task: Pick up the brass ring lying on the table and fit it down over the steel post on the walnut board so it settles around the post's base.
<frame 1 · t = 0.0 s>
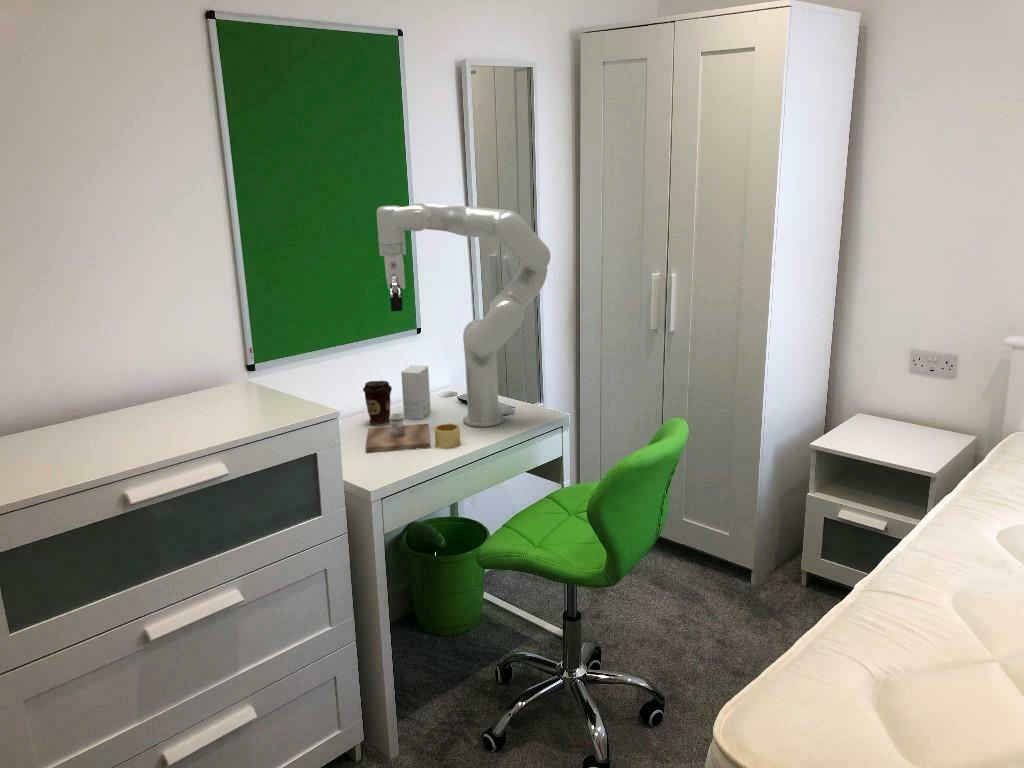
hand: (397, 308, 244), 37 cm above the table, tool pointing down, fingers open, 9 cm apart
coffee cup: (379, 423, 259), on the table
skincare box: (418, 416, 265), on the table
brass ring: (447, 444, 237), on the table
post board: (398, 440, 242), on the table
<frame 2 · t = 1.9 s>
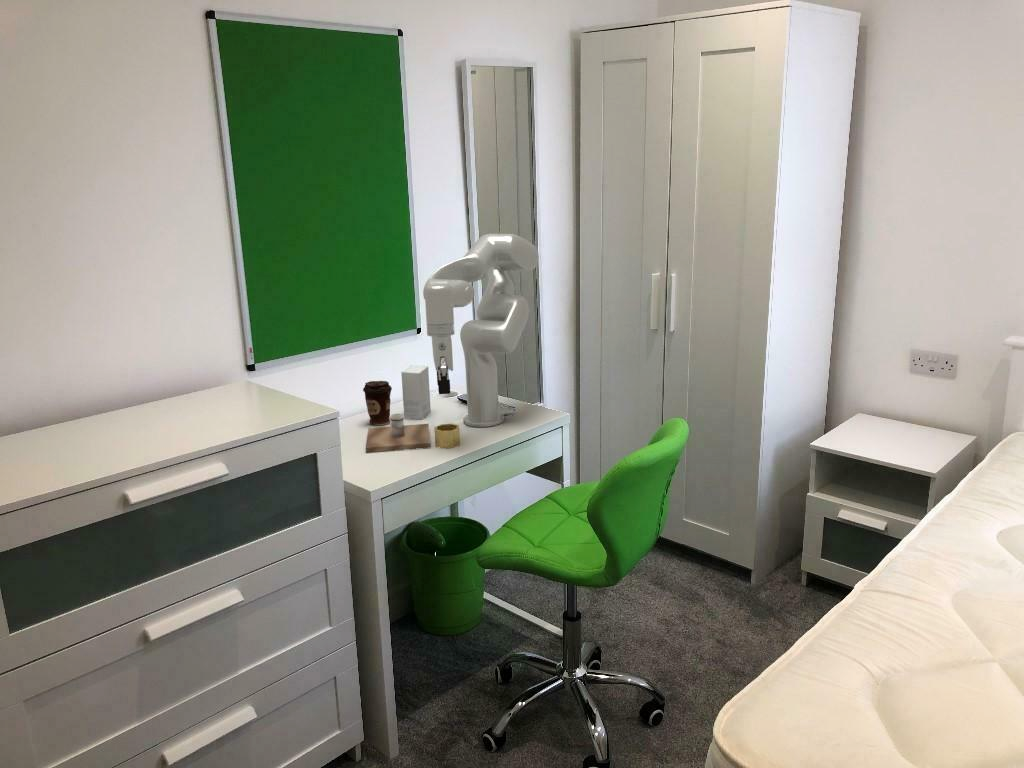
hand: (443, 389, 232), 16 cm above the table, tool pointing down, fingers open, 9 cm apart
nothing on the table moved.
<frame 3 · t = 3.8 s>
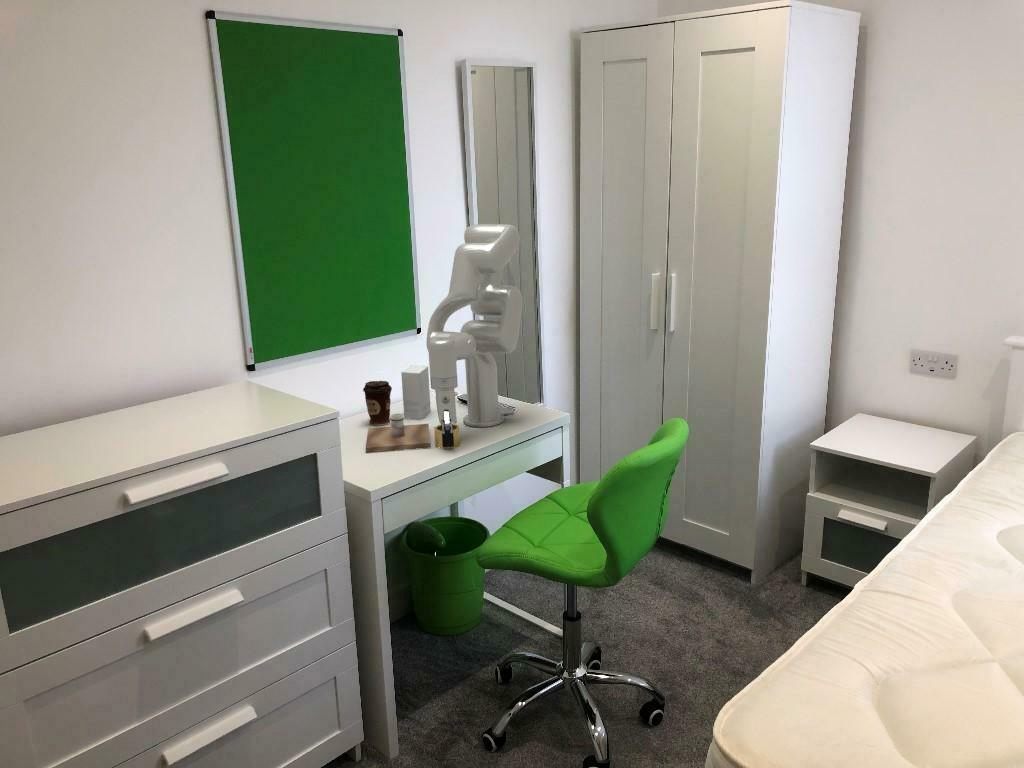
hand: (447, 441, 237), 1 cm above the table, tool pointing down, fingers closed on brass ring, 7 cm apart
brass ring: (447, 444, 237), on the table, touching gripper
everything else where it was.
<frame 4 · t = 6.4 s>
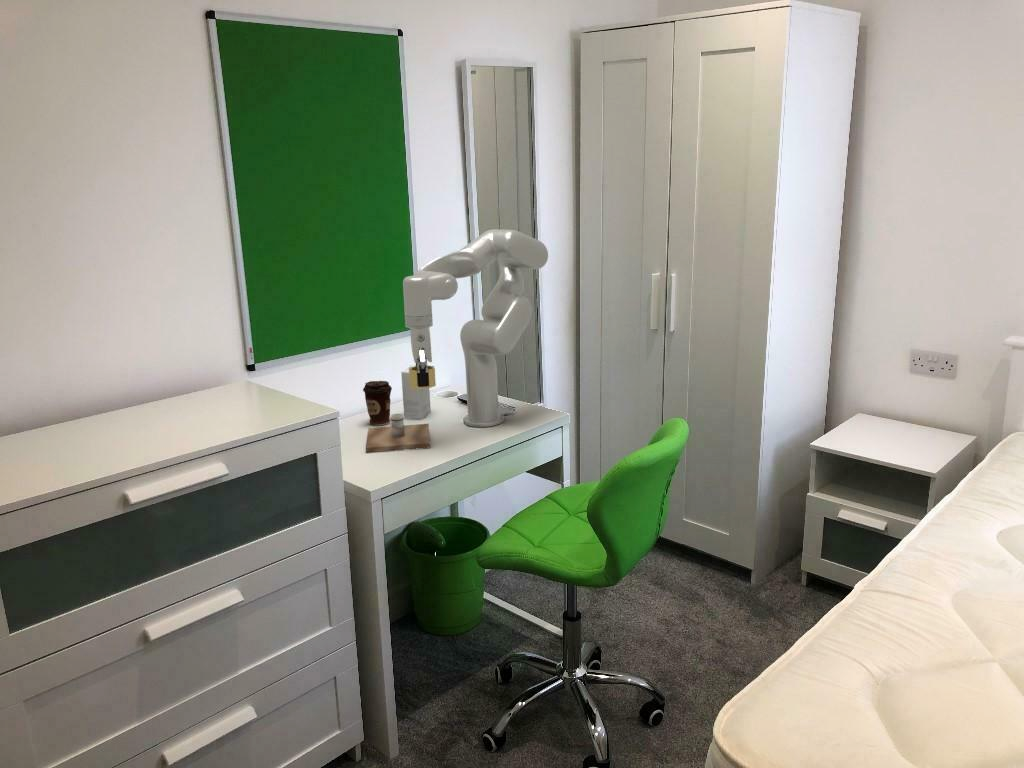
hand: (422, 382, 234), 18 cm above the table, tool pointing down, fingers closed on brass ring, 7 cm apart
brass ring: (422, 385, 234), point 17 cm above the table, touching gripper
everything else where it was.
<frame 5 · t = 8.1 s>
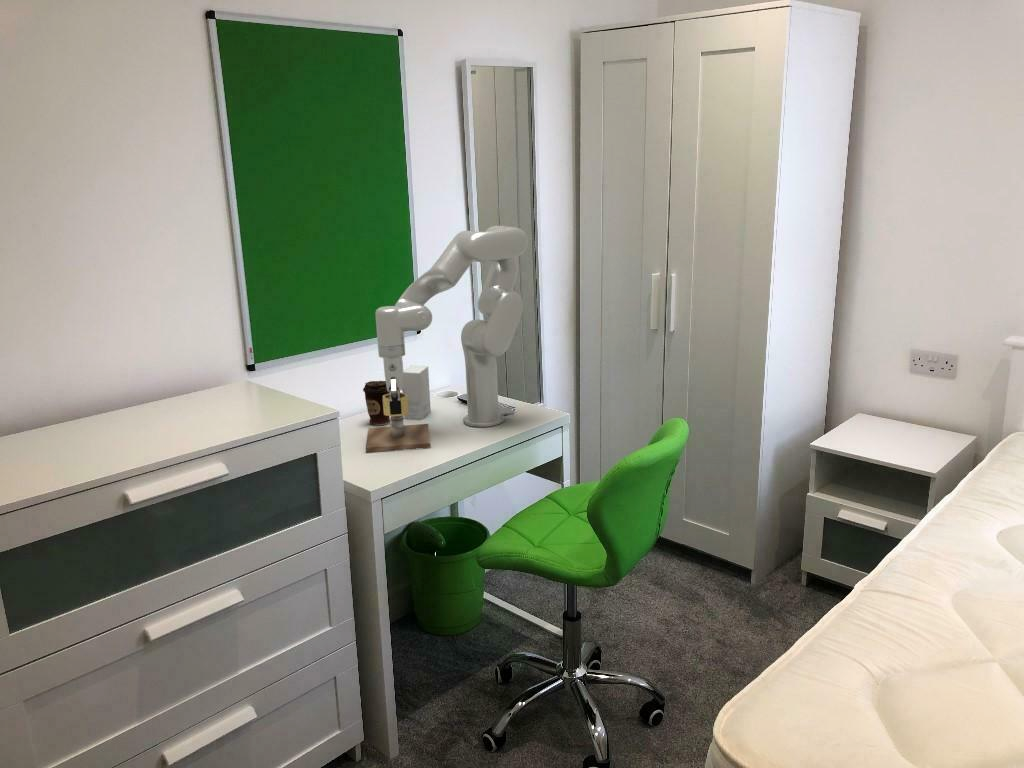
hand: (396, 409, 240), 9 cm above the table, tool pointing down, fingers closed on brass ring, 7 cm apart
brass ring: (396, 412, 240), point 8 cm above the table, touching gripper
everything else where it was.
when the fingers open (5 cm above the table, at t = 9.5 s): brass ring drops 3 cm, resting on post board.
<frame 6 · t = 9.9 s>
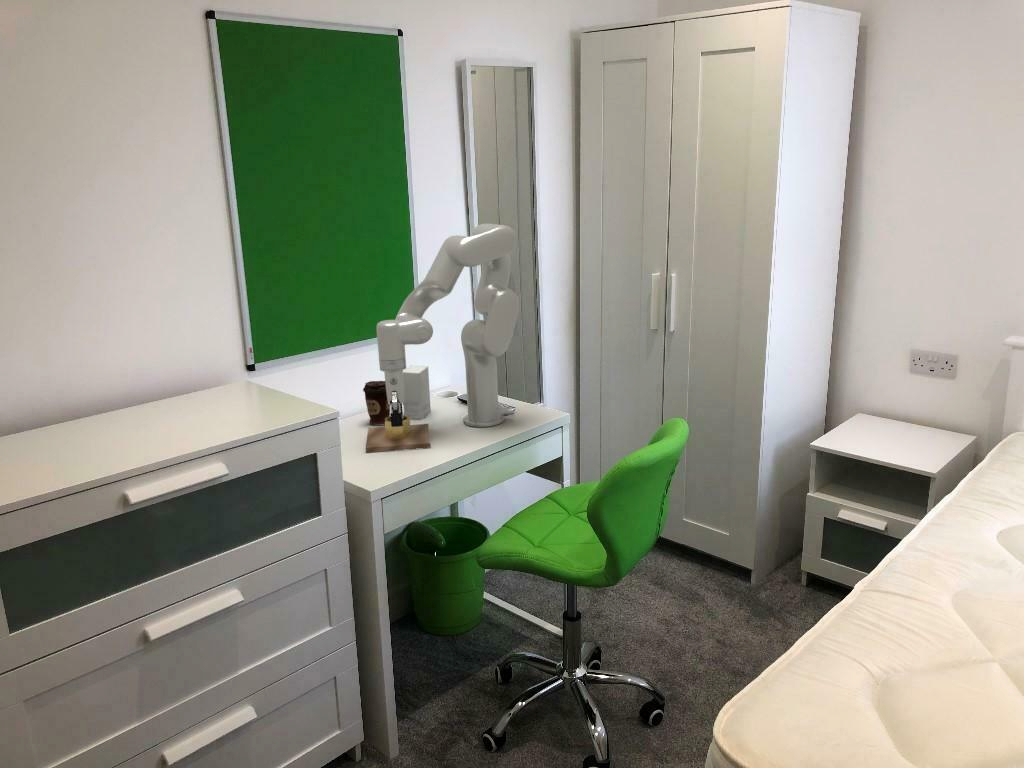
hand: (397, 421, 241), 6 cm above the table, tool pointing down, fingers open, 9 cm apart
brass ring: (398, 435, 242), point 1 cm above the table, touching post board
everything else where it was.
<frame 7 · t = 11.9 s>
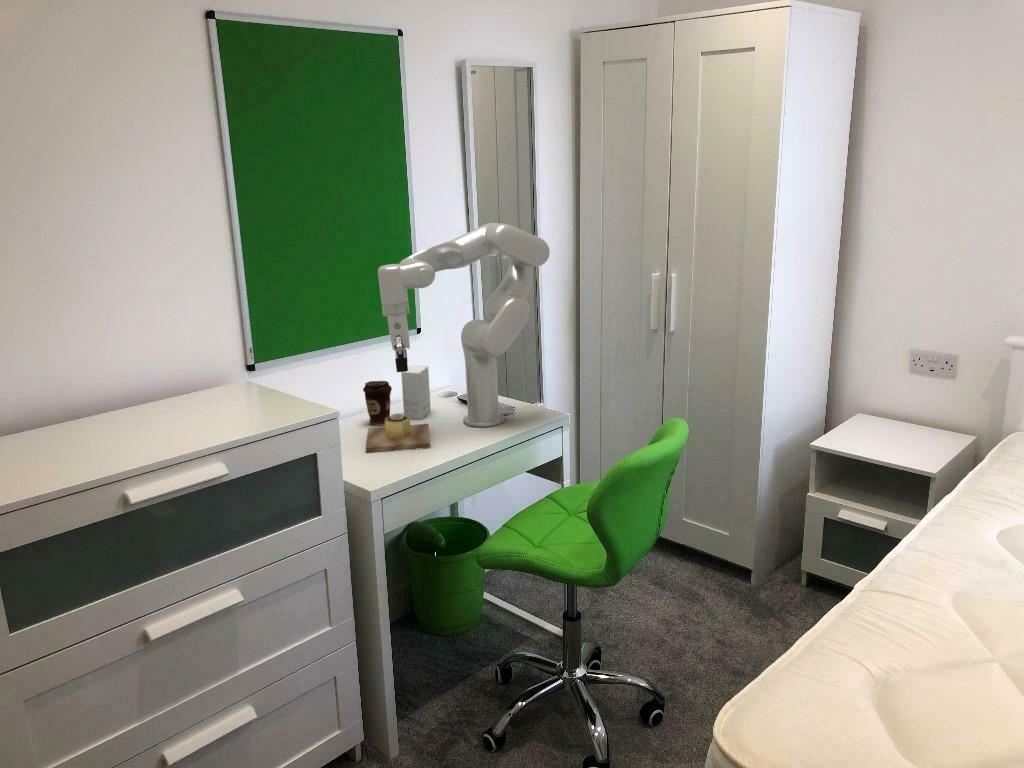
hand: (402, 367, 239), 21 cm above the table, tool pointing down, fingers open, 9 cm apart
nothing on the table moved.
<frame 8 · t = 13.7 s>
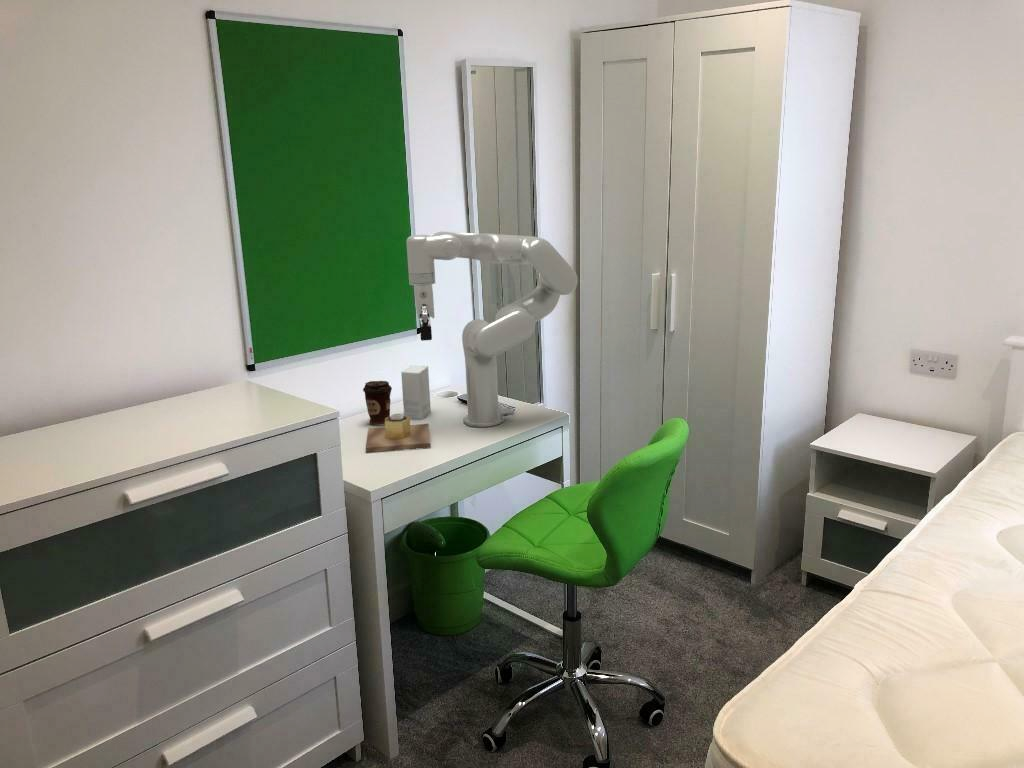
hand: (426, 336, 245), 28 cm above the table, tool pointing down, fingers open, 9 cm apart
nothing on the table moved.
at the end: brass ring 0.1 cm off-centre on the post board, point 1.5 cm above the post board's base; brass ring tilted 0°; the gripper is holding nothing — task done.
